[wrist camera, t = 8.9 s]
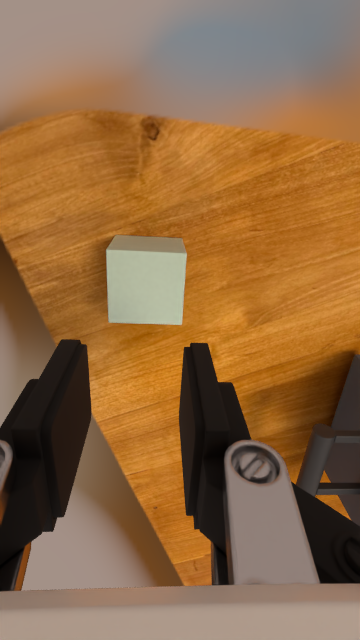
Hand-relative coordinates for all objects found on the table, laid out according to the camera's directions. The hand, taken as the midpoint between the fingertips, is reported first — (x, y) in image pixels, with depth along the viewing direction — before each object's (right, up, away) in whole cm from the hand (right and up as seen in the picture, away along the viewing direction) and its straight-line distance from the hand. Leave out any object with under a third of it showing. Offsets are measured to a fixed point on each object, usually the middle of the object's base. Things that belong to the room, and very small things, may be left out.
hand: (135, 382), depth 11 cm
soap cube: (-1, +6, +12) cm, 13 cm away
